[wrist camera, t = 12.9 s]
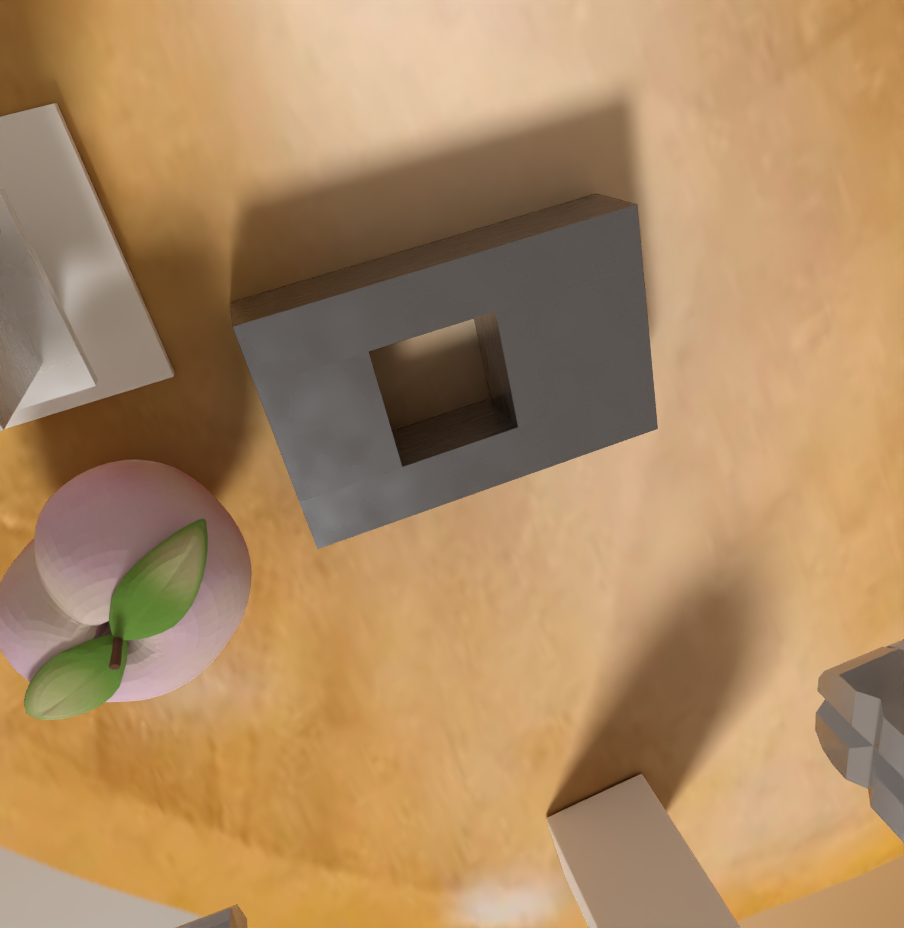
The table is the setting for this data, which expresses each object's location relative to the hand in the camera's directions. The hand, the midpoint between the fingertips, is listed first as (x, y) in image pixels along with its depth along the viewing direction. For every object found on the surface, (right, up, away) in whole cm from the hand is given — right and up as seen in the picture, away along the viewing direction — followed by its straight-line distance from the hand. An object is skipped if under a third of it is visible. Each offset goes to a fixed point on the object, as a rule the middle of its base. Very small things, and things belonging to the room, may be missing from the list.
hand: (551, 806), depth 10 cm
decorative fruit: (-15, +2, +23) cm, 27 cm away
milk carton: (+9, -20, +42) cm, 47 cm away
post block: (-2, +9, +23) cm, 25 cm away
